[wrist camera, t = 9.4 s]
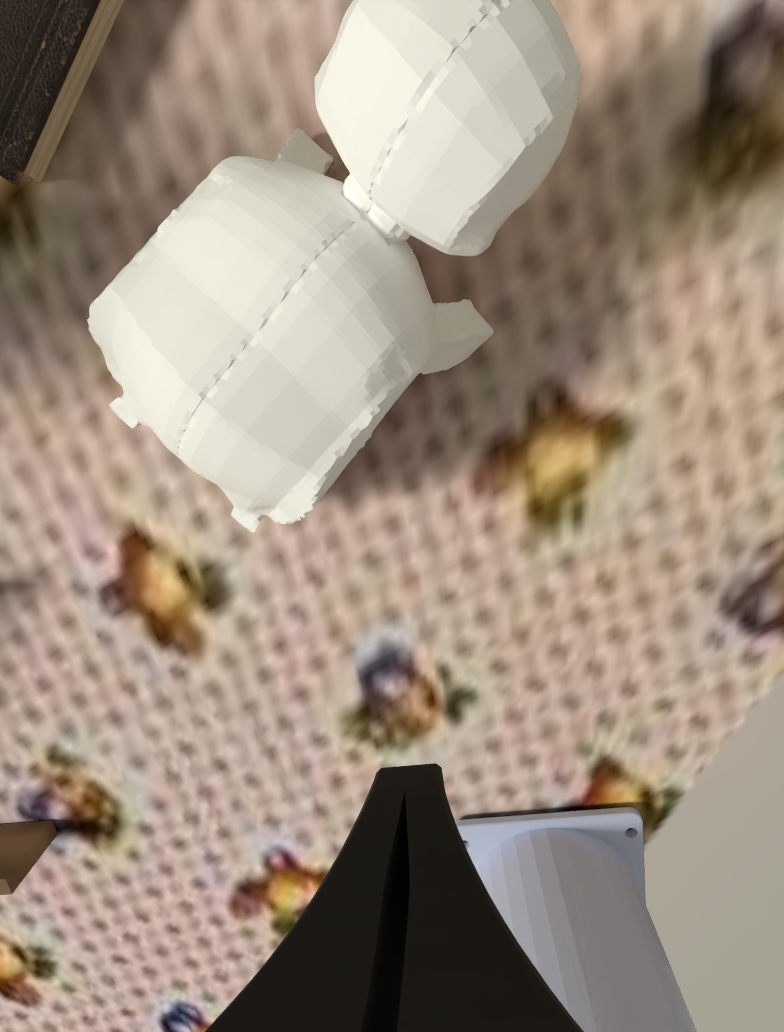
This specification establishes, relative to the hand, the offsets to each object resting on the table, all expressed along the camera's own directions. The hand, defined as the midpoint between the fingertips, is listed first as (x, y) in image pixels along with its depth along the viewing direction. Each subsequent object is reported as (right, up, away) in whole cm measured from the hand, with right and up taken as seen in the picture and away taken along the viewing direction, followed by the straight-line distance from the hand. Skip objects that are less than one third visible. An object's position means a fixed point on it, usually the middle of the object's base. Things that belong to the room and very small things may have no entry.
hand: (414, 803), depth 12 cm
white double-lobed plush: (-2, +13, +7) cm, 15 cm away
